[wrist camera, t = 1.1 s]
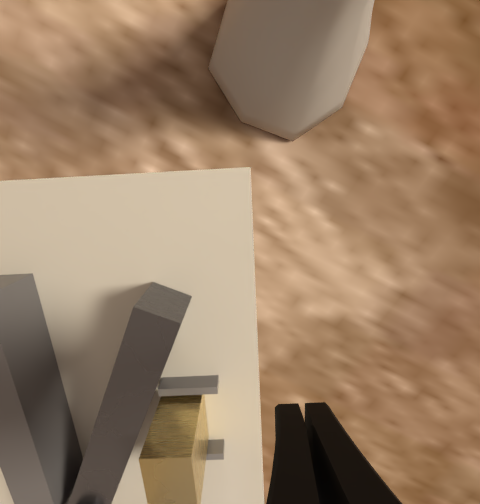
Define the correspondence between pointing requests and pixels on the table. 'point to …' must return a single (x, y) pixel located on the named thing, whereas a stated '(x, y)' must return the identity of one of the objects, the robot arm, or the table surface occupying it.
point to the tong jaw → (129, 392)
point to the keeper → (176, 451)
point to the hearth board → (125, 322)
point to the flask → (289, 60)
